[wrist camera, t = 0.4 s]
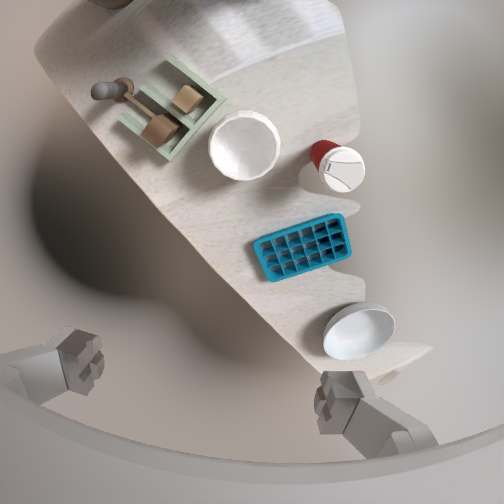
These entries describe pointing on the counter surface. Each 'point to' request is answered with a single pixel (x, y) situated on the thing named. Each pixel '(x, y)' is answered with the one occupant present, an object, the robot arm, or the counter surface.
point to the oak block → (188, 98)
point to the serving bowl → (358, 331)
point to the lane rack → (174, 110)
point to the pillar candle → (111, 3)
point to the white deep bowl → (244, 145)
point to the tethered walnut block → (159, 125)
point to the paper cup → (337, 166)
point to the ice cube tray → (329, 237)
